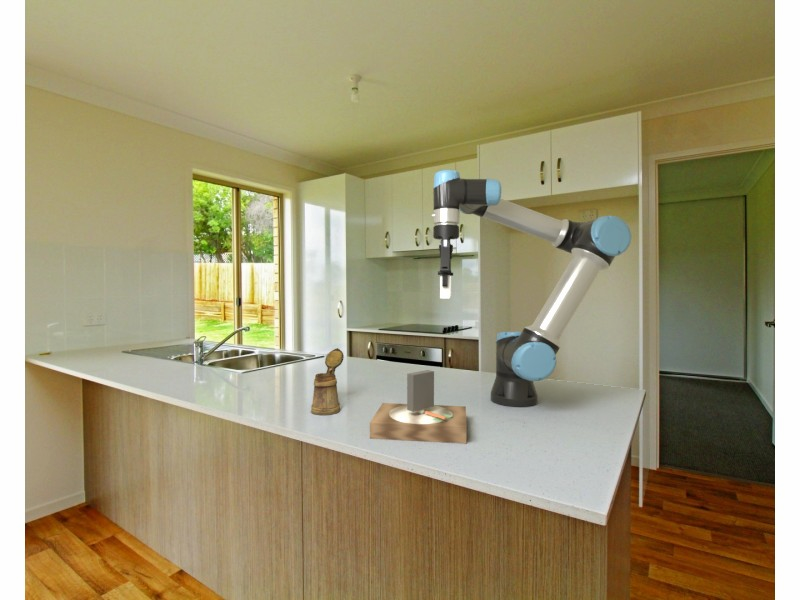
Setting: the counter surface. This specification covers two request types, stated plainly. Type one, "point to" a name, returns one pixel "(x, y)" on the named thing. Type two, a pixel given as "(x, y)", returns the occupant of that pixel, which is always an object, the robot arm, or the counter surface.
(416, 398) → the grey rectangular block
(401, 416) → the board
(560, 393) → the counter surface
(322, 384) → the wooden mug
